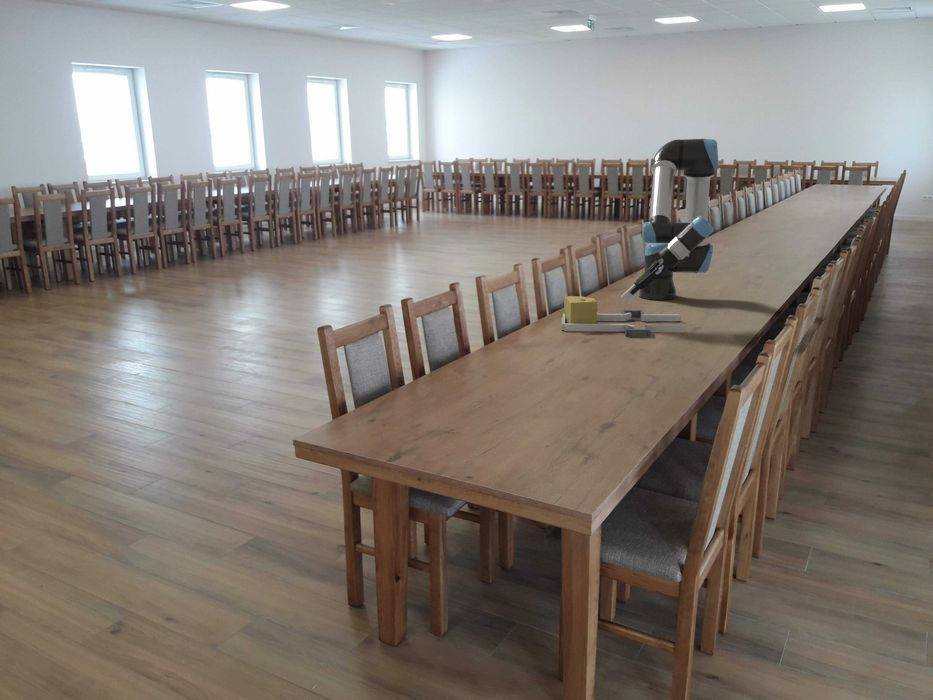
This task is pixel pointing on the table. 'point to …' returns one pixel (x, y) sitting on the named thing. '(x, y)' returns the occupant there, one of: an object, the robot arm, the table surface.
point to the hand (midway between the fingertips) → (624, 299)
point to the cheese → (580, 310)
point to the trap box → (629, 329)
